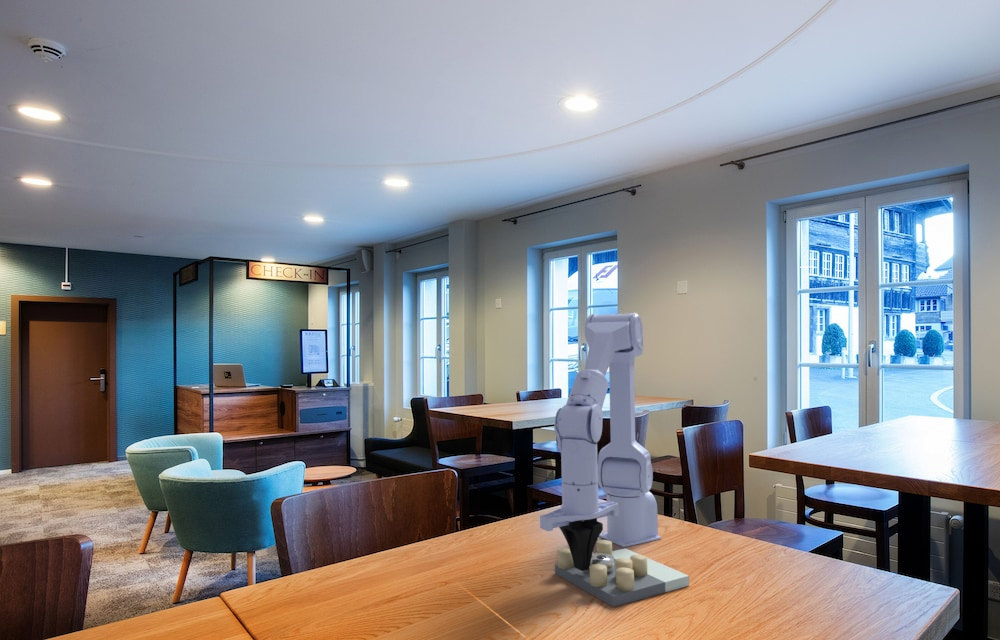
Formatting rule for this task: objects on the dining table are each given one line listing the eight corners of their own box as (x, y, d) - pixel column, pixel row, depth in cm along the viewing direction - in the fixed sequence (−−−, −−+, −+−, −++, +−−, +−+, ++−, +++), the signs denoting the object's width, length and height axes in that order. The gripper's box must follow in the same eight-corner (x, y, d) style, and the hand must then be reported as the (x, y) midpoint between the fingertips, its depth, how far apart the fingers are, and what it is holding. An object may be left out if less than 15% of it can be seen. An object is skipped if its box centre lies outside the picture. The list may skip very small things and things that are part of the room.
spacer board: (625, 556, 108) (624, 534, 108) (689, 585, 95) (688, 559, 95) (553, 573, 101) (553, 549, 101) (612, 607, 88) (611, 579, 88)
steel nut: (603, 563, 101) (603, 551, 101) (619, 571, 97) (619, 558, 97) (584, 568, 99) (583, 555, 99) (599, 576, 95) (599, 563, 95)
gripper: (597, 471, 104) (599, 552, 103) (527, 483, 96) (529, 570, 96) (626, 478, 98) (629, 564, 98) (555, 491, 90) (557, 585, 90)
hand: (581, 568), depth 96 cm, fingers closed
